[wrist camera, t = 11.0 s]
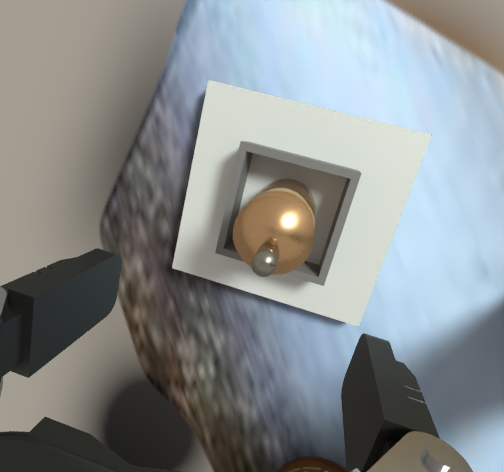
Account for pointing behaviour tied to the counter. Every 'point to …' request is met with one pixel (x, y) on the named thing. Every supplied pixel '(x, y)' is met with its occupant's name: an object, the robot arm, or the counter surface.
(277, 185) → the spout can
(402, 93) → the counter surface
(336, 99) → the counter surface
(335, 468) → the food container
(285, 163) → the white board with frame
